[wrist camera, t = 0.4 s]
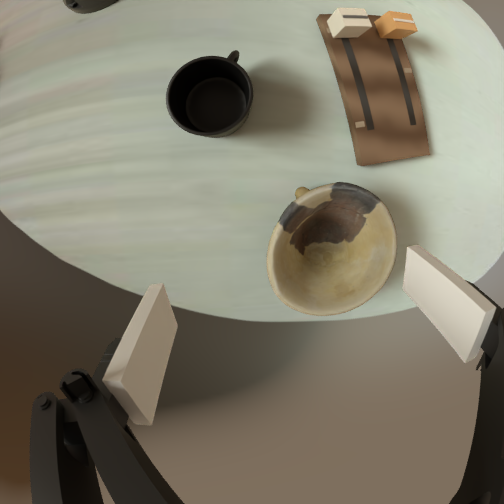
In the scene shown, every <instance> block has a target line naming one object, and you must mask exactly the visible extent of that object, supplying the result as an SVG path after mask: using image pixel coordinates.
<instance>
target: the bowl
mask: <svg viewBox="0 0 504 504" xmlns="http://www.w3.org/2000/svg"><path fill="white" fill-rule="evenodd" d="M295 196H296V200H295V201H293V202H292V203H291V204H290V205H289V206H288V207H287V208H286V209H285V211H284V212H283V214H282V216H281V218H280V220H279V221H278V223H277V225H276V226H275V228H274V230H273V233H272V236H271V238H270V242H269V246H268V252H267V272H268V277H269V280H270V283H271V286H272V288H273V290H274V292H275V294H276V295H277V296H278V297H279V299H280V300H281V301H282V302H283V303H284V304H286V305H287V306H289V307H290V308H292V309H294V310H297V311H299V312H302V313H305V314H309V315H316V316H328V315H336V314H341V313H345V312H348V311H350V310H353V309H355V308H357V307H359V306H361V305H363V304H364V303H365V302H367V301H368V300H369V299H371V298H372V297H373V296H374V295H375V294H376V293H377V292H378V291H379V290H380V289H381V288H382V287H383V285H384V284H385V282H386V281H387V279H388V277H389V275H390V273H391V271H392V269H393V266H394V263H395V259H396V253H397V235H396V229H395V225H394V222H393V219H392V217H391V214H390V212H389V210H388V208H387V207H386V206H385V204H384V203H383V202H382V201H381V200H380V199H379V198H378V197H377V196H375V195H374V194H373V193H371V192H370V191H368V190H366V189H364V188H362V187H360V186H357V185H354V184H350V183H344V182H337V183H332V184H328V185H324V186H320V187H317V188H315V189H312V190H309V189H307V188H305V187H300V188H298V189H297V190H296V192H295Z"/></svg>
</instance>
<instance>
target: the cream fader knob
mask: <svg viewBox="0 0 504 504" xmlns="http://www.w3.org/2000/svg"><path fill="white" fill-rule="evenodd" d="M327 23H328V26H329V28H330V31H331V34H332V36H333V38H352V37H359V36H360V35H362V34H363V33H364V32H366V31H367V30H368V29H370V28H371V27H372V25H371V22H370V20H369V18H368V15H367V13H366V11H365V9H360V8H337V9H336V10H335V12H334V13H333V14H332V15H331V17H330V18H329V19H328V20H327Z"/></svg>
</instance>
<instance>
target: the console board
mask: <svg viewBox="0 0 504 504" xmlns="http://www.w3.org/2000/svg"><path fill="white" fill-rule="evenodd" d="M331 15H332V14H320V15H319V16H318V17H317V19H316V21H317V23H318V26H319V28H320V31H321V34H322V36H323V39H324V42H325V45H326V47H327V50H328V53H329V56H330V59H331V62H332V65H333V68H334V72H335V75H336V78H337V82H338V85H339V89H340V92H341V96H342V99H343V103H344V107H345V111H346V115H347V119H348V123H349V128H350V132H351V136H352V141H353V146H354V151H355V156H356V161H357V165H360V166H366V165H371V164H376V163H382V162H387V161H393V160H399V159H405V158H411V157H417V156H424V155H430V152H429V145H428V139H427V133H426V127H425V122H424V116H423V112H422V107H421V103H420V98H419V94H418V90H417V86H416V82H415V79H414V75H413V72H412V68H411V65H410V62H409V59H408V56H407V53H406V50H405V47H404V44H403V41H402V39H390V38H380V36H379V33H378V30H377V28H376V25H375V23H374V22H375V21H376V20H377V19H379V18H380V17H381V16H376V15H368V18H369V20H370V22H371V25H372V27H371V28H370V29H368V30H367V31H366V32H364V33H363V34H362V35H360V36H359V37H352V38H333V36H332V34H331V31H330V28H329V26H328V23H327V20H328V19H329V18H330V17H331Z"/></svg>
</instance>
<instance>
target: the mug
mask: <svg viewBox="0 0 504 504" xmlns="http://www.w3.org/2000/svg"><path fill="white" fill-rule="evenodd" d="M238 59H239V51H237V50H235V51H233V52H231V54H230V55H229V56H228V58H224V57H219V56H206V57H200V58H197V59H194V60H192V61H190V62H188V63H186V64H185V65H184V66H182V67H181V68H180V69H179V70H178V71H177V72H176V73H175V74H174V76H173V77H172V79H171V81H170V83H169V85H168V88H167V93H166V105H167V109H168V112H169V114H170V116H171V118H172V119H173V121H174V122H175V123H176V124H177V125H178V126H179V127H181V128H182V129H183V130H185V131H187V132H189V133H192V134H195V135H200V136H205V137H211V138H217V137H223V136H227V135H229V134H231V133H233V132H235V131H236V130H238V129H239V128H240V127H241V126H242V125H243V124H244V122H245V121H246V119H247V117H248V115H249V112H250V108H251V104H252V100H253V87H252V83H251V80H250V78H249V76H248V74H247V73H246V71H245V70H244V69H243V68H242V67H241V66H240V65H239V64H237V61H238Z"/></svg>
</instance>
